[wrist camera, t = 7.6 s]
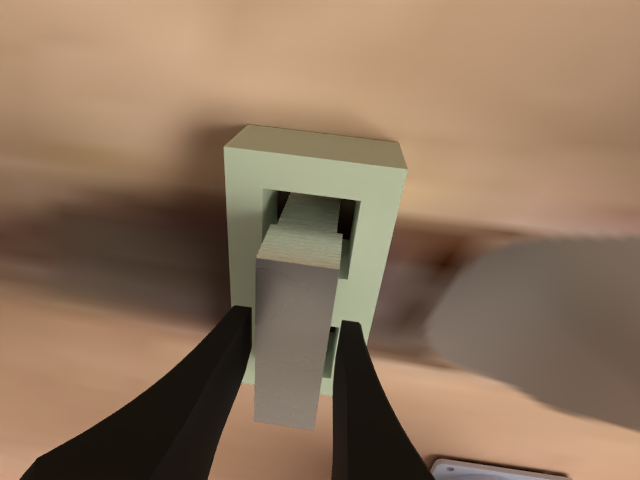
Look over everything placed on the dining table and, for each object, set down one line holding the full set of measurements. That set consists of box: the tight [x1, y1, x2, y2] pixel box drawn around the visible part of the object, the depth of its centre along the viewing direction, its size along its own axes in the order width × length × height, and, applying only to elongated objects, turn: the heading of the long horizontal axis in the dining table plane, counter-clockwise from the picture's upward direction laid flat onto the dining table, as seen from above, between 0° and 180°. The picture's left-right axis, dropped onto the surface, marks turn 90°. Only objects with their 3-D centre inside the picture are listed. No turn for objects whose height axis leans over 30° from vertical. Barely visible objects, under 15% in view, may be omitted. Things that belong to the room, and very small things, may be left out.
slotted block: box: [224, 124, 408, 396], centre depth 16 cm, size 6×12×3 cm, turn 175°
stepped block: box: [254, 192, 343, 430], centre depth 15 cm, size 2×8×6 cm, turn 174°
